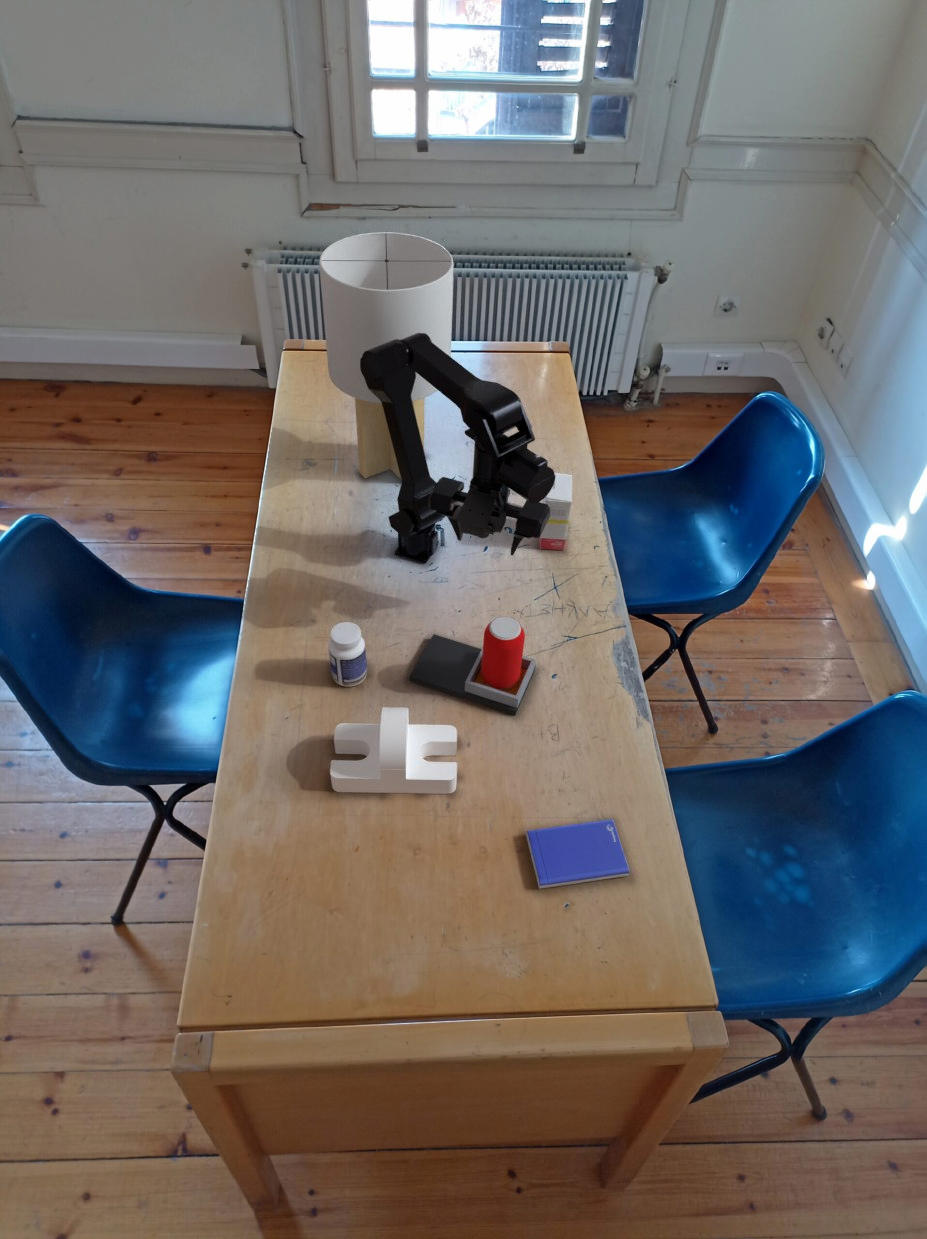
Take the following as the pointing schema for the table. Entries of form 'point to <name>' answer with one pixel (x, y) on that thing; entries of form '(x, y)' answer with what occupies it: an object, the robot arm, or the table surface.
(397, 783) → the white slotted fin bracket
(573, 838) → the hard drive
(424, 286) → the lamp
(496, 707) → the black tray with frame
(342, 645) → the pill bottle
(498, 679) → the beverage can
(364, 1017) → the table surface
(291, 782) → the table surface
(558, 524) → the ink box
